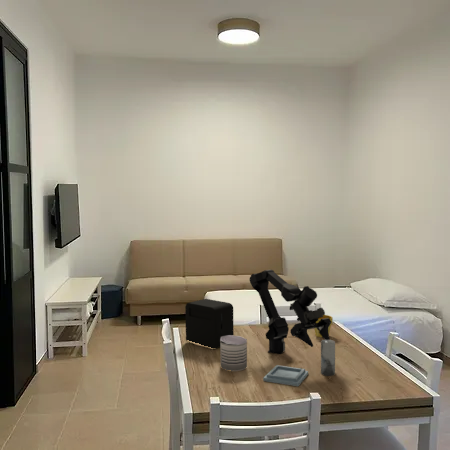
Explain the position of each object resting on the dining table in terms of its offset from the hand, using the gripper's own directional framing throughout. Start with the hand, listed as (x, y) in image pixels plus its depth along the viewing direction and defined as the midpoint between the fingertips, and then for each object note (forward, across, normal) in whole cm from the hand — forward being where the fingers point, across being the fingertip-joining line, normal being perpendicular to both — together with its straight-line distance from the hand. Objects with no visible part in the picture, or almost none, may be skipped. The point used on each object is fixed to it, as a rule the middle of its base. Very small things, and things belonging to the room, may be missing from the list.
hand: (321, 344), depth 198 cm
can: (-9, -27, +24) cm, 38 cm away
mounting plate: (+6, -17, +9) cm, 20 cm away
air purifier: (-34, -19, +48) cm, 62 cm away
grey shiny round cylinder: (+10, 0, +5) cm, 11 cm away
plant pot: (-19, +36, +34) cm, 52 cm away
